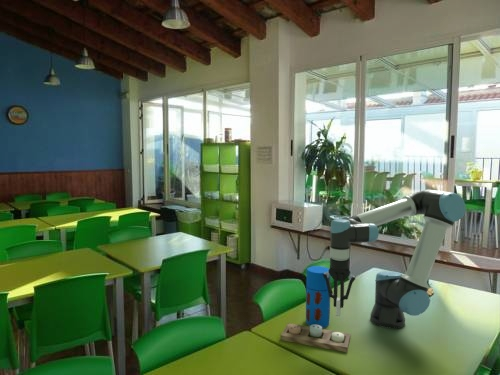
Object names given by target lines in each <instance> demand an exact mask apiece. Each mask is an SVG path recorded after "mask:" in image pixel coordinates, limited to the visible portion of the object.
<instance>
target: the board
mask: <svg viewBox="0 0 500 375" xmlns="http://www.w3.org/2000/svg"><path fill="white" fill-rule="evenodd" d="M290 325H298V326H300V327H301V334H300V335H296V334H290V333H289V326H290ZM333 332H338V331H337V330H330V329H326V328H322V336H320V337H321V338H320V337H313V336H311V335H310V326H309V325H308V326H305V325H303V324H302V325H301V324H295V323H287V324H286V326H285V328H284V329H283V331H282V332H281V334H280V340H281V341H285V342H291V343H295V344H300V345H306V346H311V347H317V348H321V349H327V350H333V351H338V352H343V353H348V350H349V346H350V342H351V333H348V332H343V331H339V332H340V333H342V334H344V343H340V342H335V341H331V336H332V333H333Z"/></svg>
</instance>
